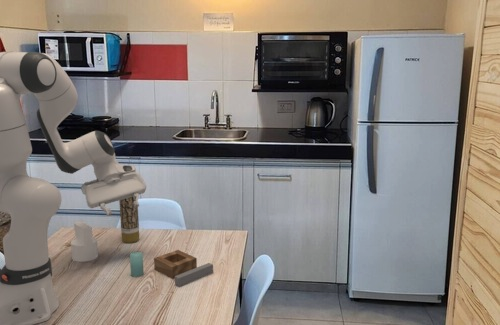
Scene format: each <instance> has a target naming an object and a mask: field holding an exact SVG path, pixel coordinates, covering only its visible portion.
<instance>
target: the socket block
mask: <svg viewBox="0 0 500 325" xmlns="http://www.w3.org/2000/svg"><path fill="white" fill-rule="evenodd" d="M197 259H198V258H197V257H195V256H194V255H190V254H188V253H187V252H184V251H181V250H179V249H176V250H174V251H171V252H168V253H165V254H161V255H160V256H159V255H158V256H157V257H156V256H155V257H154V258H153V265H154V267H153V268H154V270H155V271H157V272H158V273H160V274H162V275H164V276H166V277H168V278H170V279H175V276H177V275H179V274H182V273H184V272H187V271H189V270H192V269H195V268H197V267H198V265H197V261H198V260H197Z"/></svg>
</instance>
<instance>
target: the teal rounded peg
mask: <svg viewBox="0 0 500 325" xmlns="http://www.w3.org/2000/svg"><path fill="white" fill-rule="evenodd" d="M143 256H144V254H143V252H142V251H141V252H140V251H134V252H131V253H130V254H129V263H130V276H131V277H133V278H139V277H142V276H144V259H143V258H144V257H143Z"/></svg>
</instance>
